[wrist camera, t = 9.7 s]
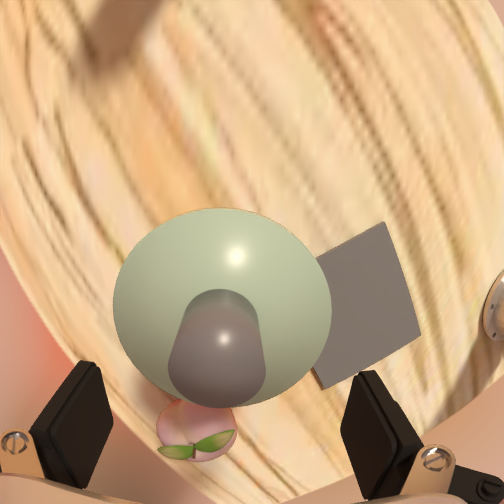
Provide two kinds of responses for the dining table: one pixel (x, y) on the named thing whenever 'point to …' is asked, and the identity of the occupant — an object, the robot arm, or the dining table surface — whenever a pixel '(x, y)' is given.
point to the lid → (222, 307)
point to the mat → (364, 305)
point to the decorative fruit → (195, 431)
